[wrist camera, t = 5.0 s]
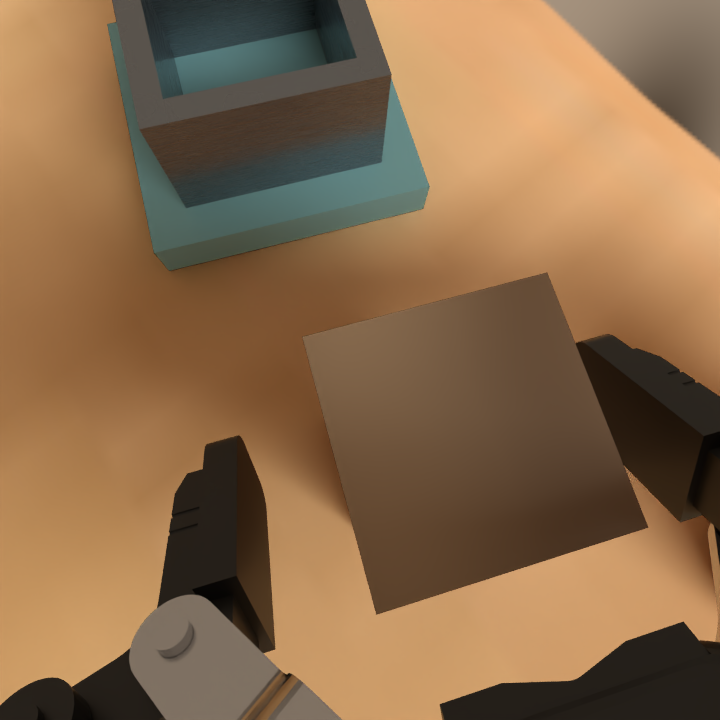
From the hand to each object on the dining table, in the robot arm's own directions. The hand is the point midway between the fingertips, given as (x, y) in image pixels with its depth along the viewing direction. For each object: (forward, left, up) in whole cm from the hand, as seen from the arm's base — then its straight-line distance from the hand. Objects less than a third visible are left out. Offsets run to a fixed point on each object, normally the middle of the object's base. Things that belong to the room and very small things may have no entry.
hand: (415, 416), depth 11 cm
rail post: (0, -1, -6) cm, 6 cm away
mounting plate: (-7, +11, -6) cm, 14 cm away
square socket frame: (-7, +11, -4) cm, 14 cm away
